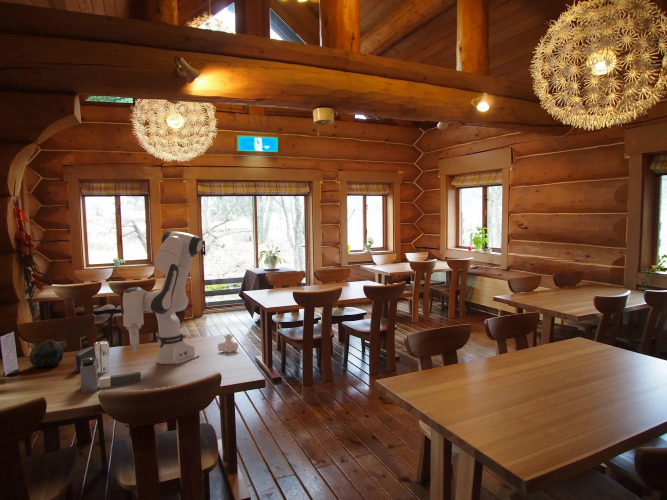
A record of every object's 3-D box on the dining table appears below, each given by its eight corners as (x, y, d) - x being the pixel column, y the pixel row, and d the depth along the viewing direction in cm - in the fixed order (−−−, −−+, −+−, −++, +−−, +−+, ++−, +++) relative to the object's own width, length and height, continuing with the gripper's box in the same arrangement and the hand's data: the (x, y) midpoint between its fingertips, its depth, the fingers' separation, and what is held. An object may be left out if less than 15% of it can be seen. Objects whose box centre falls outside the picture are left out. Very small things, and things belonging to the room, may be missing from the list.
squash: (26, 354, 232) (30, 337, 225) (58, 349, 243) (63, 333, 236) (31, 376, 225) (35, 360, 218) (63, 370, 236) (68, 354, 229)
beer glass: (103, 374, 217) (102, 345, 216) (91, 373, 219) (90, 344, 218) (113, 369, 224) (112, 341, 223) (101, 368, 226) (100, 340, 224)
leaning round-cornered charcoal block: (87, 362, 235) (86, 346, 234) (96, 362, 235) (95, 345, 234) (70, 373, 219) (69, 355, 218) (79, 373, 219) (79, 355, 218)
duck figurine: (238, 354, 254) (240, 336, 260) (236, 350, 247) (238, 331, 254) (218, 355, 253) (220, 337, 260) (215, 350, 247) (218, 332, 253)
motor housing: (97, 383, 205) (96, 354, 204) (96, 391, 195) (95, 361, 194) (83, 385, 203) (81, 356, 202) (81, 393, 193) (79, 363, 192)
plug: (140, 379, 210) (140, 371, 210) (140, 381, 207) (140, 373, 207) (100, 385, 202) (99, 377, 202) (99, 388, 199) (99, 379, 199)
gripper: (141, 325, 197) (142, 354, 198) (139, 316, 216) (140, 343, 217) (126, 326, 195) (127, 356, 195) (125, 317, 213) (126, 345, 214)
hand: (134, 349), depth 206 cm, fingers open, 8 cm apart
